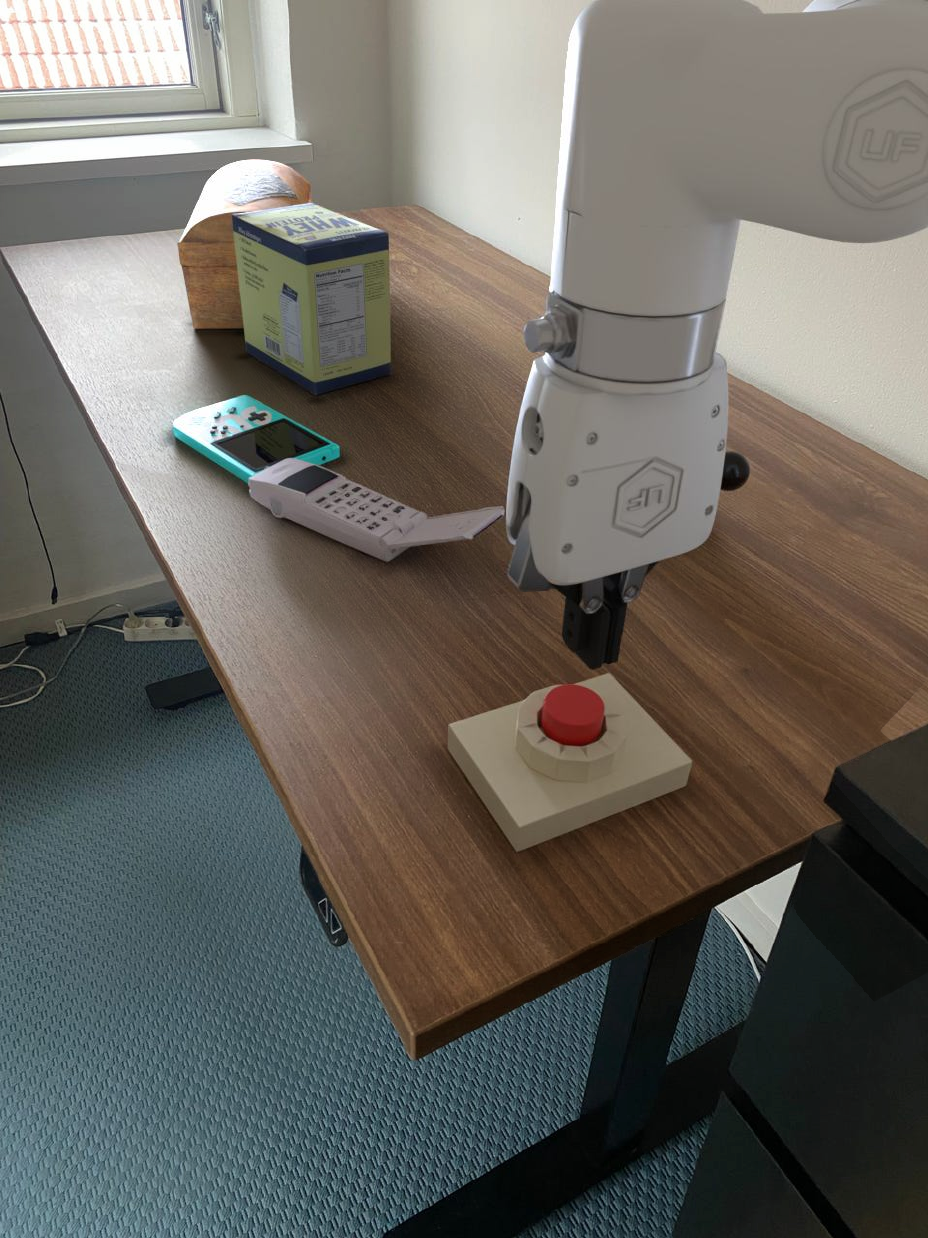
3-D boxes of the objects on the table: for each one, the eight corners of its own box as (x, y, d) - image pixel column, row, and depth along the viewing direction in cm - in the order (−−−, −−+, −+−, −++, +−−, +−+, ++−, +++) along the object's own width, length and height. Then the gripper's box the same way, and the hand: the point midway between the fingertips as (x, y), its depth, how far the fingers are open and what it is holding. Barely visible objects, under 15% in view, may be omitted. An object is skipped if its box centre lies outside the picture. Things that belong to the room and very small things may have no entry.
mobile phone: (468, 539, 68) (221, 436, 78) (462, 604, 71) (227, 497, 81) (510, 507, 72) (271, 413, 82) (503, 570, 75) (275, 473, 86)
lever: (725, 486, 82) (754, 459, 81) (731, 505, 80) (761, 478, 78) (607, 393, 78) (634, 362, 76) (609, 410, 75) (637, 378, 74)
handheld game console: (248, 403, 98) (247, 391, 98) (344, 456, 90) (343, 443, 89) (164, 430, 93) (162, 418, 92) (257, 490, 84) (256, 477, 83)
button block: (605, 696, 63) (613, 651, 61) (686, 786, 57) (698, 740, 54) (447, 749, 59) (448, 702, 56) (516, 853, 52) (521, 805, 50)
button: (580, 698, 57) (583, 677, 56) (612, 736, 55) (616, 714, 54) (530, 715, 56) (532, 694, 55) (561, 754, 54) (564, 732, 53)
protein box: (318, 334, 115) (310, 200, 105) (393, 375, 105) (392, 232, 96) (243, 352, 109) (228, 212, 100) (315, 397, 100) (306, 247, 90)
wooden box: (320, 330, 116) (314, 212, 107) (185, 330, 114) (168, 210, 106) (325, 258, 139) (320, 157, 131) (213, 257, 138) (200, 155, 129)
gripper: (527, 390, 35) (505, 735, 47) (819, 334, 41) (737, 654, 52) (442, 327, 41) (441, 650, 52) (711, 285, 46) (658, 585, 57)
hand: (589, 651), depth 52 cm, fingers closed
